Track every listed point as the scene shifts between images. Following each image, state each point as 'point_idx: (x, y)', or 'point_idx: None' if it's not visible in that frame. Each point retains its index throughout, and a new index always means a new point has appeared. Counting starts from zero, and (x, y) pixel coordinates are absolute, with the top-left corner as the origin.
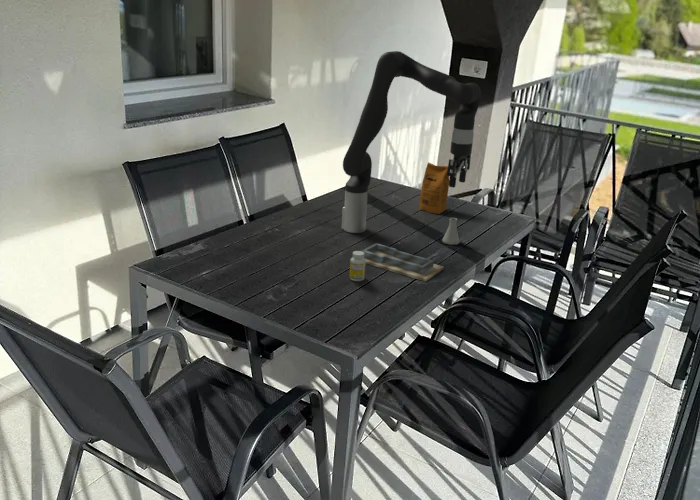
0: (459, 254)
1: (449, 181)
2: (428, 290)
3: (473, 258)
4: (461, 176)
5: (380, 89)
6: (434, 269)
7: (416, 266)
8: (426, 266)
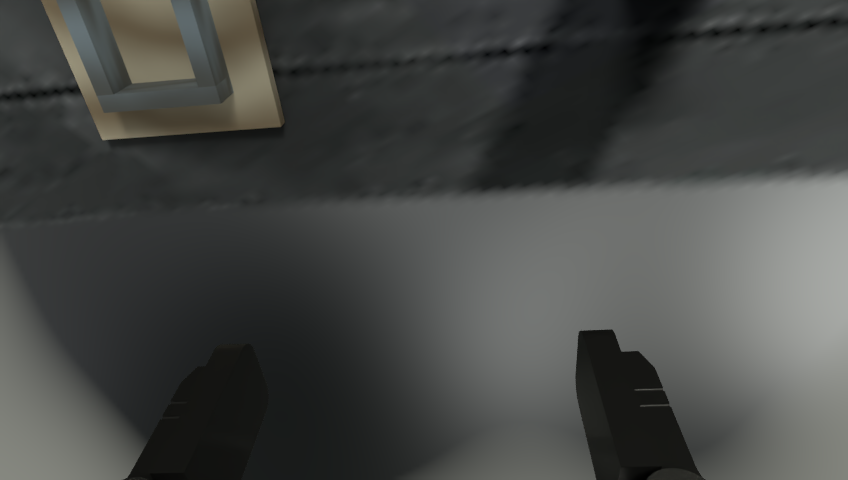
0: (514, 83)
1: (189, 398)
2: (66, 186)
3: (512, 161)
4: (596, 424)
5: None
6: (216, 112)
7: (89, 74)
8: (143, 108)
